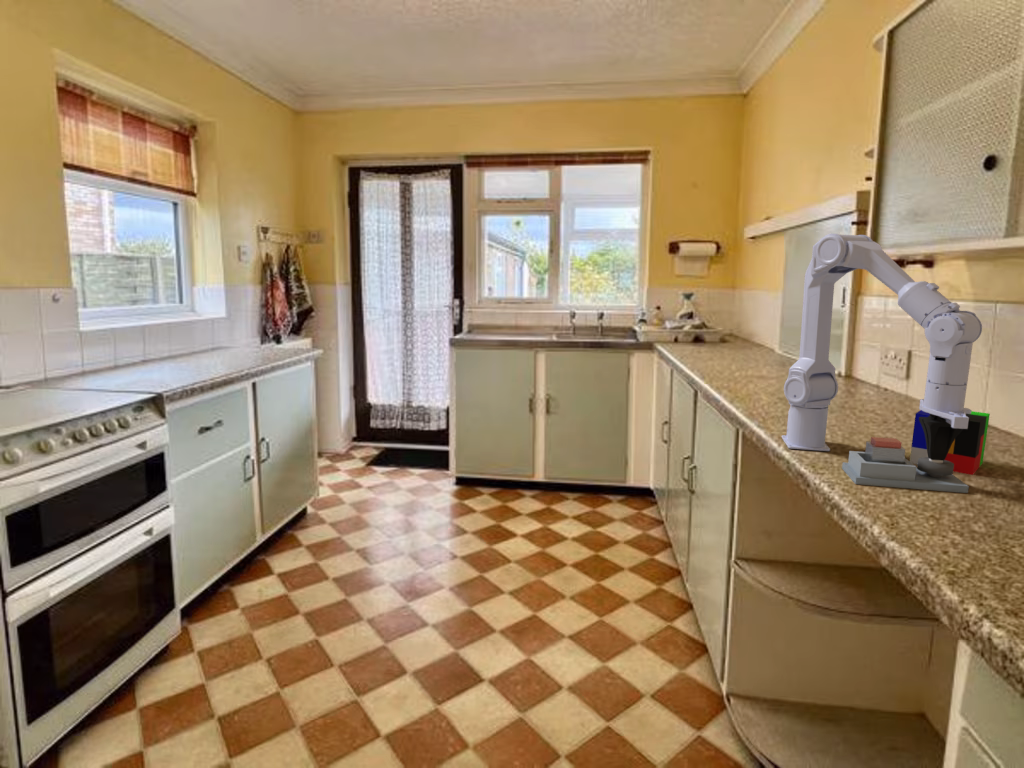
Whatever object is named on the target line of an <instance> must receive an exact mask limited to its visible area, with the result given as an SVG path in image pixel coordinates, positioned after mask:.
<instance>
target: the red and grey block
mask: <svg viewBox="0 0 1024 768" xmlns="http://www.w3.org/2000/svg"><path fill="white" fill-rule="evenodd" d="M902 444H903V443H902V442H901V441H900V440H899V439H897V438H895V437H894V438H891V437H881V436H880V437H878V436H876V437H875V436H871V437H870V440H869V441H866V444H865V451H864V452H865V459H864V460H865V461H866V462H878V463H892V464H904V457H905V454H906V448H905V447H903V446H902ZM905 458H906V457H905Z"/></svg>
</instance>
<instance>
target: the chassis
mask: <svg viewBox="0 0 1024 768" xmlns="http://www.w3.org/2000/svg"><path fill="white" fill-rule="evenodd" d="M864 459H865V451H854V450H849V452H848V461H847V462H844V461H843V462H842V464H841V469H842V470H843V472H844V473H845V474H846V475H847V476H848V477H849V478H850V479H851V481H852V482H853V483H854V484H855V485H863V486H874V487H887V488H899V489H900V488H901V489H912V490H924V491H925V490H927V491H936V492H937V491H938V492H950V493H963V494H969V488H970V486H969V485H968V484H966V483H965V482H963V481H962V480H961V479H959V478H958V477H956V476H955V475H954V474H952V475H935V474H929V473H925V472H922V471H920V470H918V469H917V466H916V464H912V463H911V462H910V460H909V459H907V458H906V457H904V464H892V463H878V462H866V461H865V460H864Z"/></svg>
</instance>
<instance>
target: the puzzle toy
mask: <svg viewBox="0 0 1024 768" xmlns="http://www.w3.org/2000/svg"><path fill="white" fill-rule="evenodd" d="M928 416H930V413H926V412H924V411H922V410H920V409H919V411H917V412H916V413H915V414H914V424H913V430H912V431H913V432H912V438H911V439H912V440H911V449H910V455H909V461H910V462H911V463H912V464H914V465H917V464H918V459H919V458H923V457H928V454H927V447H926V439H925V434H924V431H923V428H922V425H921V423H920V421H919V417H928ZM966 416H967V417H969V421H968V428H967V429H963V430H962V431H961V432H960V433H959V434H958V435H957V437H956V438H955V440H954V441H953V443H952V445H951V447H950V449H949V452H948V454H947V456H946V458H945V460H947V461H950V462H952V463H954V469H953V473H959V474H960V473H961V474H965V475H971V476H973V475H974V474H975V473H976V472H977V471H978V470H979V469H980V467H981V466H982V465H983V461H984V456H985V451H986V450H985V448H986V443H987V435H988V430H989V429H988V428H989V423H990V422H989V420H990V413H989V412H988V413H987V412H981V411H973V410H972V411H971V414H966Z"/></svg>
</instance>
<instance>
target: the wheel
mask: <svg viewBox="0 0 1024 768" xmlns="http://www.w3.org/2000/svg"><path fill="white" fill-rule="evenodd" d="M916 465H917V466H916V468H917V469H918V470H920V471H922V472H925V473H929V474H935V475H954V471H953V469H954V463H952V462H950V461H947V460H944V461H943V460H931V459H930V458H928V457H923V458H919V459H918V464H916Z"/></svg>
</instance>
